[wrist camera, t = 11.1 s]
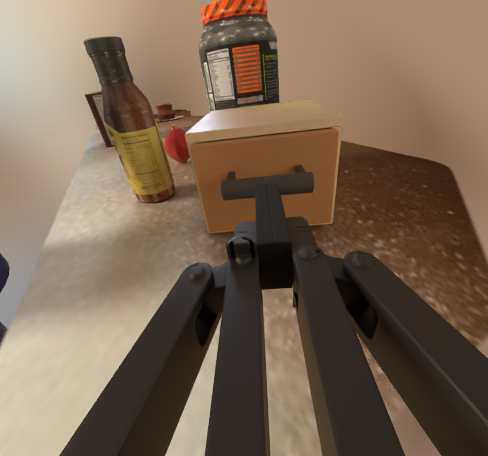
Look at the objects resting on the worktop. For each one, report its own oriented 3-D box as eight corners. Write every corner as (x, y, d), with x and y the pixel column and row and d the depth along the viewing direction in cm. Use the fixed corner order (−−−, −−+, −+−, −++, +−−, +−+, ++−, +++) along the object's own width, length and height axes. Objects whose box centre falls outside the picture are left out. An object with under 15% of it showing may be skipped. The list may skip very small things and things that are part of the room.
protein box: (140, 134, 93) (124, 88, 85) (139, 141, 80) (121, 88, 72) (111, 139, 91) (93, 92, 82) (105, 147, 78) (83, 93, 70)
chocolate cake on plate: (155, 118, 135) (151, 104, 131) (187, 114, 134) (183, 100, 130) (145, 124, 119) (140, 108, 116) (180, 119, 119) (176, 103, 115)
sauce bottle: (147, 189, 41) (96, 45, 31) (182, 186, 40) (142, 38, 30) (128, 207, 36) (59, 39, 25) (168, 204, 35) (113, 30, 24)
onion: (166, 164, 53) (155, 125, 49) (190, 157, 56) (181, 120, 51) (175, 169, 49) (164, 128, 45) (201, 162, 51) (192, 122, 47)
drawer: (344, 248, 21) (358, 143, 16) (202, 258, 22) (176, 162, 17) (304, 173, 37) (306, 109, 32) (223, 181, 38) (213, 120, 33)
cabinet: (332, 224, 26) (343, 115, 20) (207, 233, 27) (184, 133, 21) (305, 173, 39) (307, 99, 33) (222, 181, 40) (210, 111, 35)
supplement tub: (254, 135, 68) (243, 16, 54) (294, 142, 57) (294, -7, 43) (204, 149, 61) (178, 15, 47) (239, 160, 50) (218, -12, 36)
